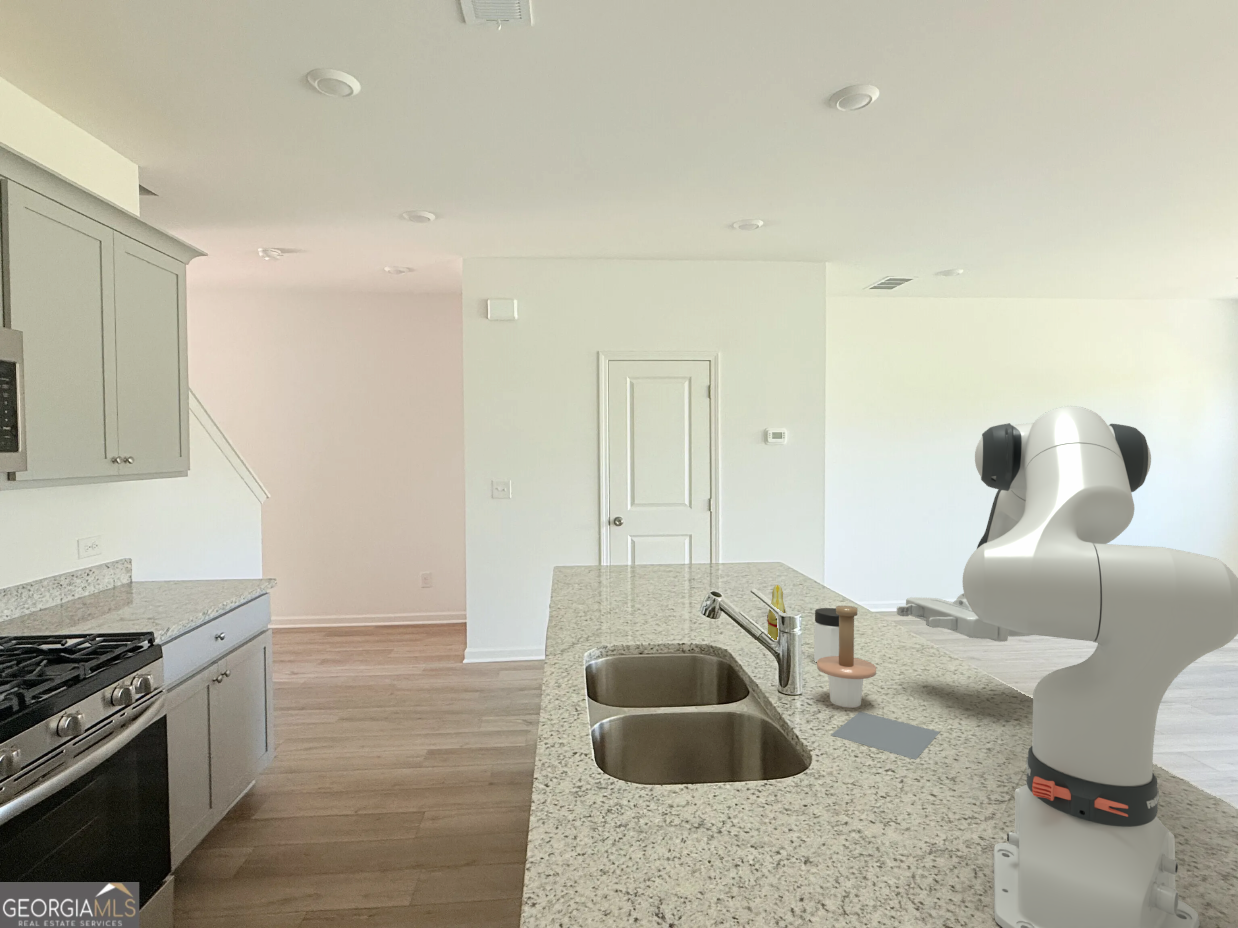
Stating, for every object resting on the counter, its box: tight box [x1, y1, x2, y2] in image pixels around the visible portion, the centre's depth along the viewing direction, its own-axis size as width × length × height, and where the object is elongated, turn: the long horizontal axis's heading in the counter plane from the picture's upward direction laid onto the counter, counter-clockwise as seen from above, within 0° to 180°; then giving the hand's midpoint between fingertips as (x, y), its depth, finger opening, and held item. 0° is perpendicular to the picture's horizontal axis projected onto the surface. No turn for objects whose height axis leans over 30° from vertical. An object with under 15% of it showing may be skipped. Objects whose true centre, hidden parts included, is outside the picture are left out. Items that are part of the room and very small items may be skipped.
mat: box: [830, 710, 941, 761], centre depth 114 cm, size 14×14×1 cm
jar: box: [813, 607, 839, 663], centre depth 156 cm, size 9×8×12 cm
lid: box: [816, 605, 877, 680], centre depth 129 cm, size 11×11×12 cm
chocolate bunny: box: [766, 584, 787, 640], centre depth 173 cm, size 7×11×15 cm, turn 166°
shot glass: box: [827, 675, 864, 708], centre depth 129 cm, size 7×7×7 cm
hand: (912, 616), depth 129 cm, fingers open, 8 cm apart
